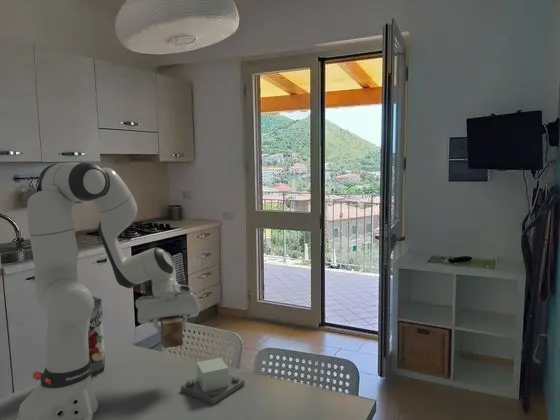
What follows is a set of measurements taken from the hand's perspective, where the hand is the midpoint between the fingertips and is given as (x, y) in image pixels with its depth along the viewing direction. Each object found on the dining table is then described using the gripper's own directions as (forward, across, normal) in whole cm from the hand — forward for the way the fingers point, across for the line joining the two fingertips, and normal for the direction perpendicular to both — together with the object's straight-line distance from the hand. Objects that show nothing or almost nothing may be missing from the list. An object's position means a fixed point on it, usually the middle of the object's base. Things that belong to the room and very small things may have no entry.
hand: (171, 331), depth 144 cm
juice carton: (0, -26, +24) cm, 35 cm away
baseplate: (+20, +10, +3) cm, 22 cm away
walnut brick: (+3, 0, +4) cm, 4 cm away
